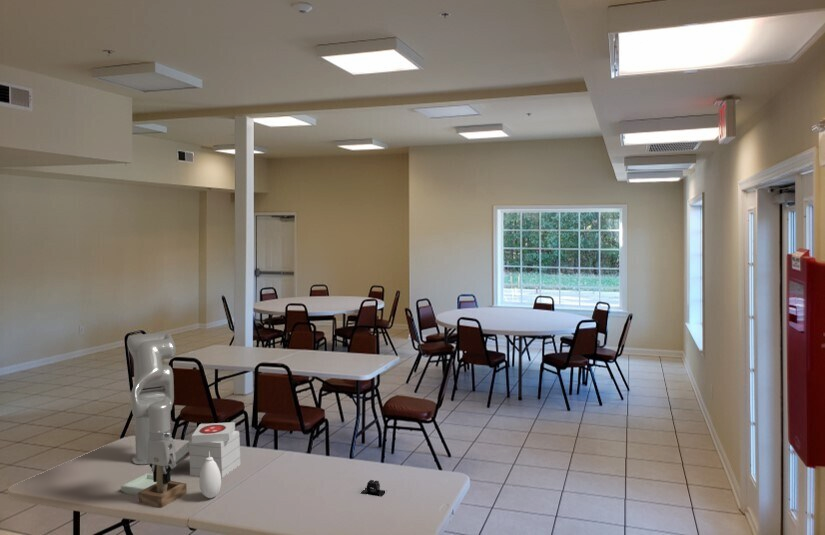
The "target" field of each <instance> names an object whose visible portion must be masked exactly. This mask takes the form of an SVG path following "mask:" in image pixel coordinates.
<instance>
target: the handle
mask: <svg viewBox="0 0 825 535" xmlns="http://www.w3.org/2000/svg"><path fill="white" fill-rule="evenodd" d="M155 459H157V461H156V460H155ZM154 461H156V462H159V459H158V458H155V457H154ZM163 474H164V471H163V466H160V465H157V474H156V482H157V489H158V493H159V494H162V493H164V492H166V491H167V485H168V483H166V484H163Z"/></svg>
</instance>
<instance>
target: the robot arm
mask: <svg viewBox="0 0 825 535" xmlns="http://www.w3.org/2000/svg"><path fill="white" fill-rule="evenodd" d="M126 345H127V348H128V351H129V354H131V356H132V359H133V375H134V377H133V378H134V385H133V386H132V389H131V393H130V404H131V412H132V416H133V418H134V436H135V438H134V439H135V440H134V441H135V456H134V457H133V458H132V463H133V464H135V465H149V467H150V469H151V472H152V474H153V481H154V482H156V474H157V465H160V466H163V471H164V474H163V484H166V483H168V482H170V481H172V480H171V472H172V470H173V469H174V468H176V467H177V465H178V464H176V463H175V462H176V454H175V453H176V448H175V446H176V445H175V442H174V439H173V437H172V436H173V434H172V433H171V411H172V410H173V405H174V402H175V401H174V400H175V391H174V390H175V386H174V385H175V384H174V372H173V368H172V367H171V365H168V364H163V363H162V362H163V361H162V360H168V359H169V360H170V359H174V358H175V356H176V352H177V351H176V350H177V348H176V343H175V341H174V338H173V337H172V335H171V333H169V332H156V333H155V332H153V333H144V334H135V335H130V336H129V337H128V338H127V341H126ZM154 457H155V458H158V459H159V462H156V461H157V459H155V460H156V461H154ZM167 466H168V468H166V467H167Z"/></svg>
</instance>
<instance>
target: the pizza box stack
mask: <svg viewBox="0 0 825 535" xmlns="http://www.w3.org/2000/svg"><path fill="white" fill-rule="evenodd" d="M240 441H241V439H240V430H236V422H235V421H233V422H232V421H231V422H217V423H215V422H214V423H213V422H212V423H200V424H199V425H198V426H197V428H196V429H195V431H194V432H193V433H192V434H191V439H190V440H188V442H186V443H185V444H183V446H181V447H180V448H179V449H178V450H177V451H175V454H176V462H175V463H176V465H178V464H180V463H181V462H183V461H184V460H186V459H187V458H189V475H190V476H191V475H197V476H196V477H200V473H201V469H202V466H203V464H204V463H205V461H206V458H208V457H209V452H210V457H213V460H214V461H215V462H216V464H217V466H218V468H219V470H220V474H221V479H223V478H225V477H226V476H227V475H229V474H230V473H231V472H232V471H234V470H235V469H237V468H238V467H239V466H241V444H240V443H241V442H240ZM237 466H238V467H237ZM166 468H168V466H167V467H166ZM233 469H234V470H233ZM230 471H231V472H230ZM229 472H230V473H229ZM226 474H227V475H226ZM225 475H226V476H225Z"/></svg>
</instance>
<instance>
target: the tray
mask: <svg viewBox="0 0 825 535" xmlns="http://www.w3.org/2000/svg"><path fill="white" fill-rule="evenodd" d="M156 483H157V482H154V481H153V473H147V472H146V473H145V474H142V475H141V476H138V477H136V478H134V479H132V480H130V481H128V482H126V483H124V484H121V485H120V490H121V493H123V494H124V493H125V494H130V495H133V496H138V492H140V491H142V490H144V489H146V488H148V487H150V486H152V485H154V484H156Z"/></svg>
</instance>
